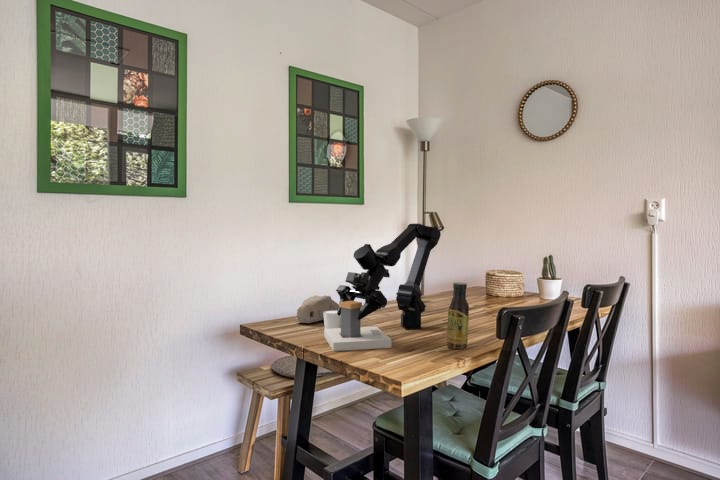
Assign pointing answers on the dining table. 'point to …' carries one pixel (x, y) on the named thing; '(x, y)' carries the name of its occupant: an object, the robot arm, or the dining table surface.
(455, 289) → the sauce bottle
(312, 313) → the decorative stone
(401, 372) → the dining table surface
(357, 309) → the plug
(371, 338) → the socket plate
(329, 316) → the white tapered cup
